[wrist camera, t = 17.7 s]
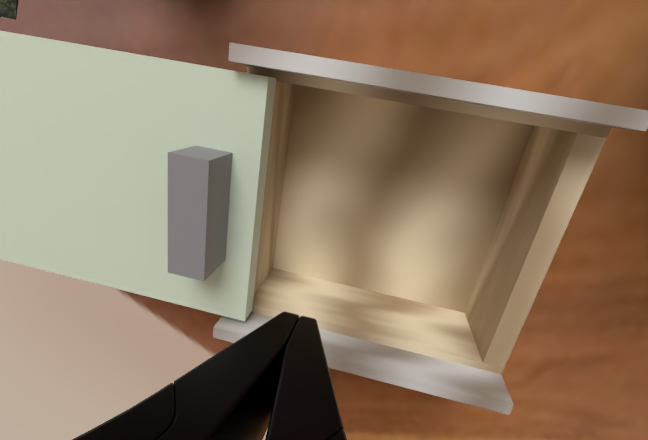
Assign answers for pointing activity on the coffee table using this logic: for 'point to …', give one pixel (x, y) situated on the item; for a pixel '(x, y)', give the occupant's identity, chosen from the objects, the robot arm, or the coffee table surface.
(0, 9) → the eiffel tower figurine
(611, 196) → the coffee table surface
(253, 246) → the lid
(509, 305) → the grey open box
